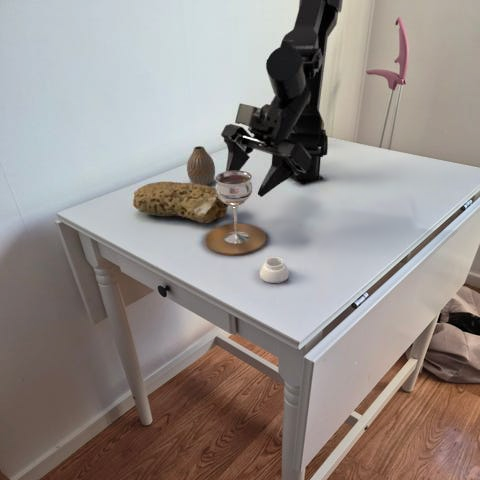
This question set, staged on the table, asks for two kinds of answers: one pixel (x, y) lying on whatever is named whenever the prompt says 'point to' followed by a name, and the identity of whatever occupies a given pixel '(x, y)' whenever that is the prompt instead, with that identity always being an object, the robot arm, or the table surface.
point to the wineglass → (234, 197)
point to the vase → (200, 167)
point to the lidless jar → (274, 270)
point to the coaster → (221, 246)
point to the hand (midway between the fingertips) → (242, 188)
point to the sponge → (180, 201)
